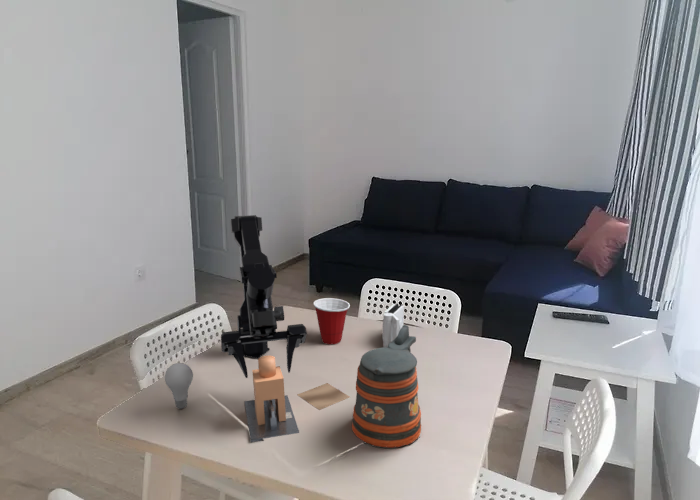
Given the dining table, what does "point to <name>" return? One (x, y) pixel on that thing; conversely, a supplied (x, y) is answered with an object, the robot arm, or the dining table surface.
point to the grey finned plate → (270, 421)
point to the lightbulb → (179, 382)
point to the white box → (392, 323)
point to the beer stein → (388, 395)
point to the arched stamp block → (268, 388)
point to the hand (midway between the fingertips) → (268, 374)
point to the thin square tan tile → (323, 396)
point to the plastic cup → (331, 318)
